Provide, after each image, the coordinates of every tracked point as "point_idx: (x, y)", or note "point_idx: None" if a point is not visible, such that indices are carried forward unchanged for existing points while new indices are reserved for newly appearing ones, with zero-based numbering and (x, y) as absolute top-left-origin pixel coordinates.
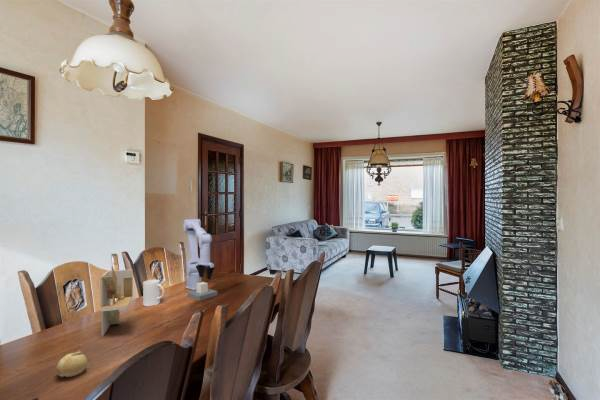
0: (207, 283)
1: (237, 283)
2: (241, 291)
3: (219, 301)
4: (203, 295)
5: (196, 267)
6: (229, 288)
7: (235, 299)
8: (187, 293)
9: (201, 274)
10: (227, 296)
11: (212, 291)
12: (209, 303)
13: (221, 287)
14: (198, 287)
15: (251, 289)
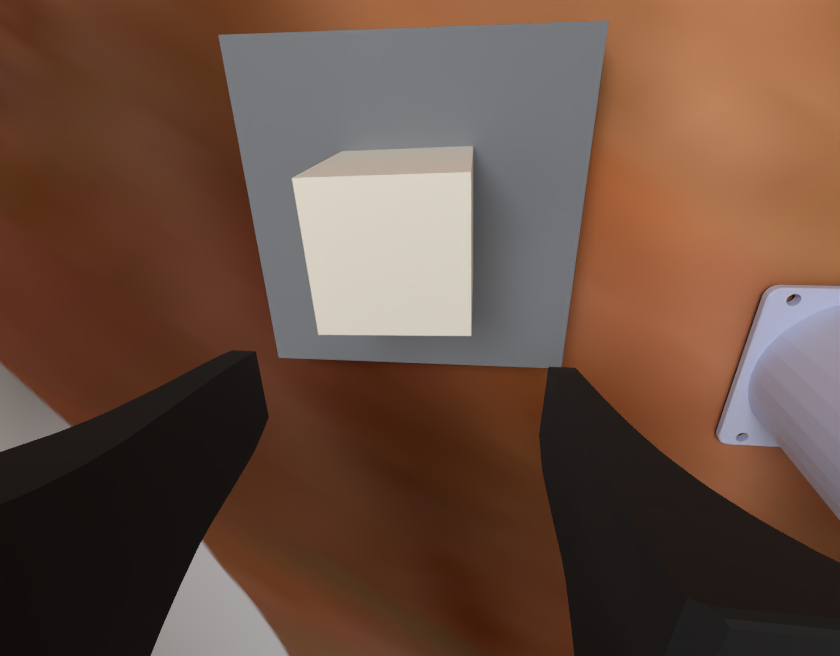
0: (319, 327)
1: (500, 645)
2: (248, 522)
3: (62, 204)
4: (238, 123)
5: (811, 571)
6: (423, 532)
7: (40, 348)
8: (600, 21)
9: (554, 443)
10: (186, 366)
11: (314, 316)
12: (48, 66)
13: (526, 520)
14: (400, 162)
15: (242, 586)
